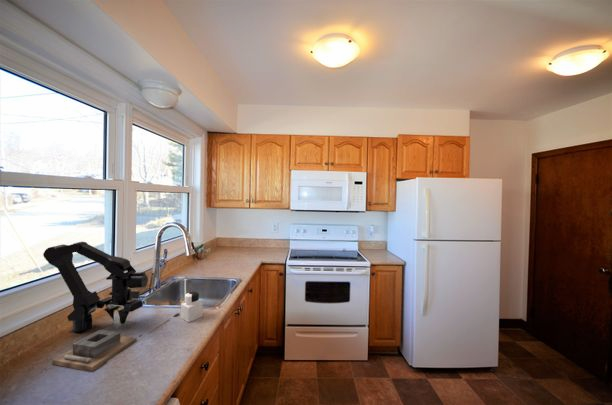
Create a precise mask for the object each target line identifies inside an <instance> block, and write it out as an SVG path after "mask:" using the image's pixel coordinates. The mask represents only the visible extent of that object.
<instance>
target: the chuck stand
mask: <svg viewBox="0 0 612 405" xmlns="http://www.w3.org/2000/svg"><path fill="white" fill-rule="evenodd" d="M136 342H137V338H135V337H128V336H124V335H123V336H122V335H121V333H120V332H114V331H107V330H103V329H98V330H97V331H95V332H93V333H90V334H89V335H87V336H85V337H83V338H81V339H79V340H77V341H75V342H74V343H72V349H70V350H69V351H66V352H64V353H63V354H60V355H58V356H57V357H55V358H53V359H52V360H51V365H53V366H59V367H65V368H71V369H76V370H82V371H87V372H94V371H95V370H97V369H98V368H99V367H101V366H103V365H104V364H105V363H107V361H109V360H110V359H111V358H112V357H114V356H116V355H117V354H119V353H121V352H122V351H123V350H125V349H126V348H128V347H130V346H131V345H132V344H134V343H136Z"/></svg>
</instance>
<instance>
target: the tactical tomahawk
mask: <svg viewBox="0 0 612 405" xmlns="http://www.w3.org/2000/svg"><path fill="white" fill-rule="evenodd" d="M179 316H180V313H179V312H177V313H176V314H174V315H173V316H172V317H173V318H177V317H179ZM169 321H171V319H170V318H169V319H167V320H165V321H164V322H163V323H161V324H160V325H158V326H157V327H155V328H154V329H152V330H150V331H149V332H148V333H146V334H150V333H152V332H154V331H155V330H156V329H158V328H160V327H161V326H163V325H164V324H167V323H168V322H169ZM142 336H143V335H142V334H140V335H139V336H138V337H139V338H140V337H142Z"/></svg>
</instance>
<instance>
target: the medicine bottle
mask: <svg viewBox="0 0 612 405" xmlns="http://www.w3.org/2000/svg"><path fill="white" fill-rule="evenodd" d="M199 295H200V294H199V292H198V291H190V292H187V293H186V294H185V295H184V302H183V303H180V319H182V320H184V321H186V322H187V323H190V322H191V323H192V322H193V321H196V320H198V319H201V318H203V302H201V301H200V300H199V298H200V296H199Z"/></svg>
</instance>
